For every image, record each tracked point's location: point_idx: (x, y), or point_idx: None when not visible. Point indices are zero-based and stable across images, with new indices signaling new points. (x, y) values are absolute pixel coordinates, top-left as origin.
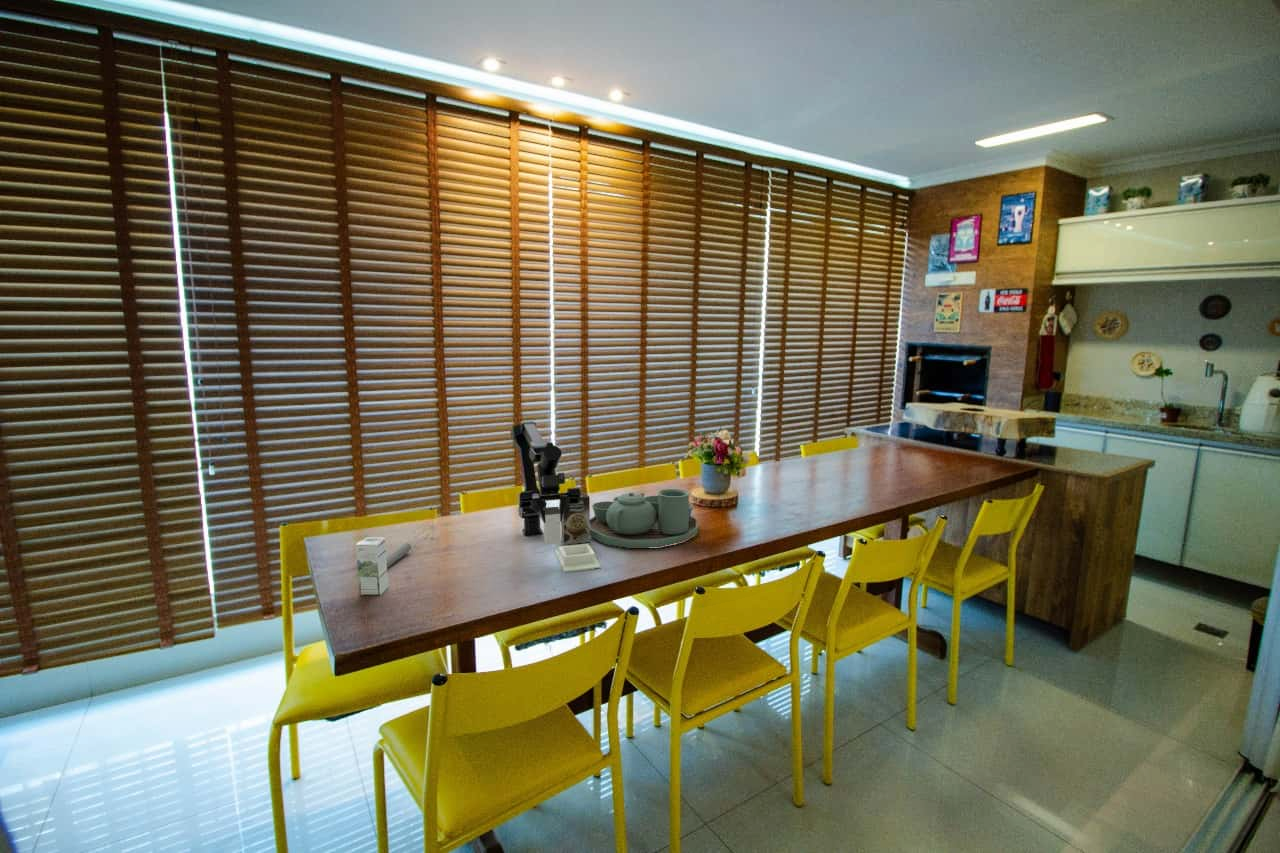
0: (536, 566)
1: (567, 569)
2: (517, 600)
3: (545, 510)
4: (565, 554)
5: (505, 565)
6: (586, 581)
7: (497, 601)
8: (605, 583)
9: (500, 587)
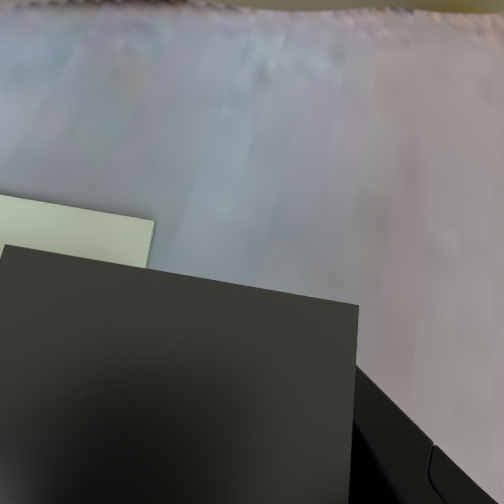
0: None
1: (130, 229)
2: (417, 61)
3: (332, 411)
4: None
5: None
6: (92, 76)
7: (486, 90)
8: (16, 15)
9: (474, 203)
